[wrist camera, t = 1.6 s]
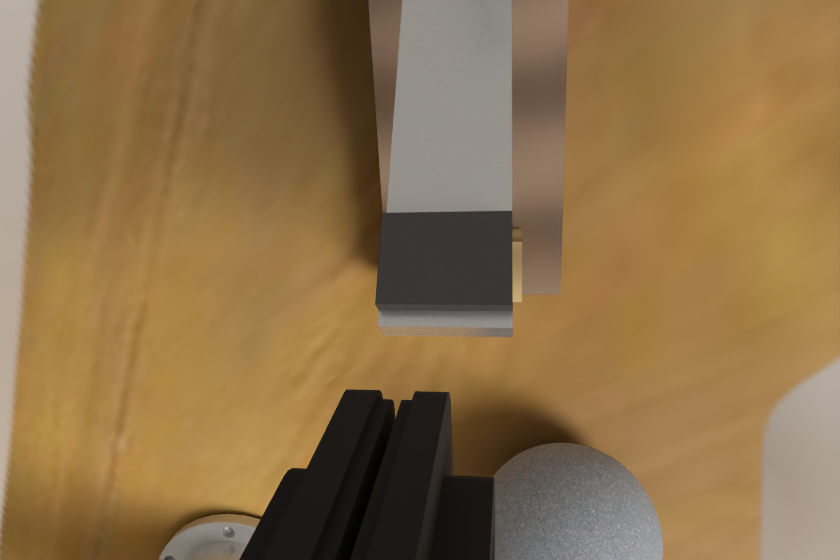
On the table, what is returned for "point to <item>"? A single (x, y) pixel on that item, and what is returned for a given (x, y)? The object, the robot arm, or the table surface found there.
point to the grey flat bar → (450, 174)
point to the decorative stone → (572, 508)
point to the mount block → (531, 130)
